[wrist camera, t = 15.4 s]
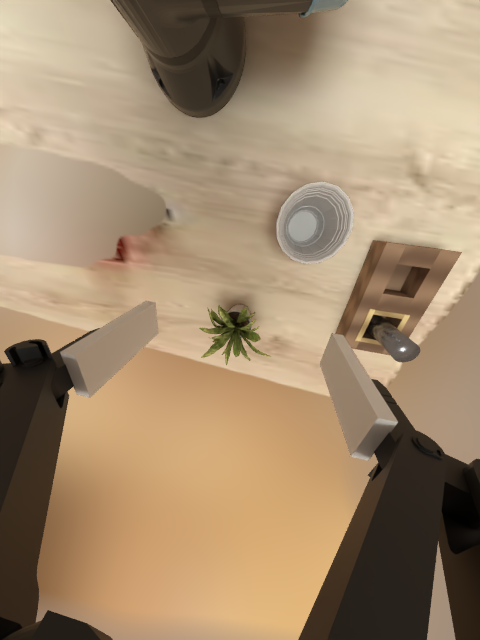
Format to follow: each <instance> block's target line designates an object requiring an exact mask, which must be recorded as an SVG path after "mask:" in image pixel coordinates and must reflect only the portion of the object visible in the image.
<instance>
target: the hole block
mask: <svg viewBox="0 0 480 640" xmlns="http://www.w3.org/2000/svg"><path fill="white" fill-rule="evenodd" d="M461 253H462V252H456V251H449V250H442V249H435V248H427V247H420V246H412V245H404V244H397V243H389V242H382V241H374V240H373V243H372V245H371V248H370V250H369V252H368V255H367V257H366V260H365V262H364V265H363V267H362V270H361V272H360V275H359V277H358V279H357V282H356V284H355V287H354V289H353V292H352V294H351V297H350V299H349V302H348V304H347V307H346V309H345V311H344V314H343V316H342V319H341V321H340V324H339V326H338V329H337V331H336V334H340V335H343V336H344V337H345V339H346V340H347V342H348V344H349V345H350V347H351V348H353V349H358V350H364V351H369V352H375V353H381V354H386V355H390V354H389V353H388V352H387V351H386V350H385V349H384V348H383V347H382V345H381V344H380V343H379V342H378V341H377V340H376V339H375V338H374V337H373V336H372V335H371V334H370V333H369V332H368V330H367V329H366V328H367V326H368V324H369V322H370V320H371V318H372V316H373V314H374V315H380V316H382V317H384V318H385V319H386V320H387V321H388V322H390V323H391V324H392V325H393V326H395V327H396V328H397V329H398V330H400V331H401V332H402V333H403V334H404V335H406V336H407V337H408V338H409V336H410V335H411V333H412V332H413V330H414V328H415V327H416V325H417V324H418V322H419V320H420V319H421V317H422V316H423V314H424V312H425V311H426V309H427V308H428V306H429V304H430V303H431V301H432V300H433V298H434V296H435V295H436V293H437V292H438V290H439V288H440V287H441V285H442V284H443V282H444V280H445V279H446V277H447V275H448V274H449V272H450V271H451V269H452V267H453V266H454V264H455V263H456V261H457V259H458V258H459V256H460V255H461Z"/></svg>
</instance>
